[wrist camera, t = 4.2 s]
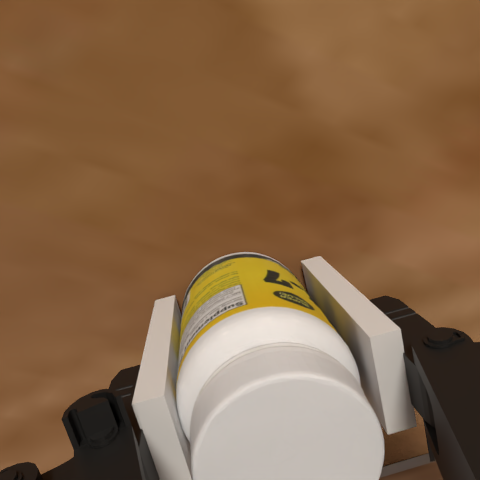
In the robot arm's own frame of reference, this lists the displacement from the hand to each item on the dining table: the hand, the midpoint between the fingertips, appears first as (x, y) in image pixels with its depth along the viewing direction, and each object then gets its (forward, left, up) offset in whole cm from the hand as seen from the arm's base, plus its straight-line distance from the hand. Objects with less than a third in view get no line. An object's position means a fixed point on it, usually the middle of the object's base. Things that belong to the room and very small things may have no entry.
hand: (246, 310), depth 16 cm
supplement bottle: (0, 0, -1) cm, 1 cm away
